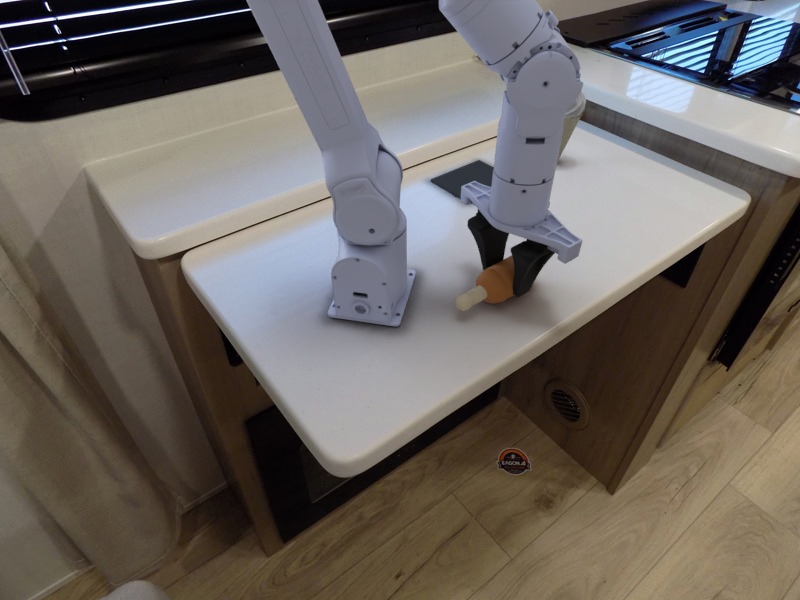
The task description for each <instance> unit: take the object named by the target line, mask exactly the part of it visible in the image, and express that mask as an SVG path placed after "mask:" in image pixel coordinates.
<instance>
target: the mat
mask: <svg viewBox="0 0 800 600" xmlns="http://www.w3.org/2000/svg"><path fill="white" fill-rule="evenodd" d="M493 168H494V166H492V165H491V164H488V163H486V162H484V161H482V160H480V159H478V160H475V161H473V162H470V163H467V164H465V165H463V166H461V167H458V168H455V169H453V170H450V171H448V172H445V173H443V174H441V175H438V176H434V177H433V178H431V179H430V182H431V183H432V184H434V185H436V186H437V187H439V188H440V189H442V190H443V191H444V190H445V191H446V192H447V193H449V194H451V195H453V196H454V197H456V198H458V199H459V200H461V186H463V185H466V184H468V183H470V182H473V181H476V182H478V183H480V184H483V185H486V186H489V187H491V185H492V176H493Z"/></svg>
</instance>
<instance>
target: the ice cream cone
mask: <svg viewBox="0 0 800 600" xmlns="http://www.w3.org/2000/svg"><path fill="white" fill-rule="evenodd" d="M586 104H587V99H586V96H585V94H584V93H583V91H581V92H580V94H579V96H578V98H577V99H576V101H575V102H574V103H573V104H572V106H571V107H570V108H568V109H567V110H566V114H565V119H564V124H563V127H564V129H563V134H562V139H561V144H560V149H559V155H558V160H557V163H558V162H559V160H560V158H561V156H562V155H563V152H564V150H565V149H566V146H567V145H568V143H569V141H570V139H571V136H572V135H573V133H574V131H575V129H576V127H577V125H578V123H579V121H580V119H581V117H583V115H584V112H585V107H586Z"/></svg>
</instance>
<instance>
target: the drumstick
mask: <svg viewBox="0 0 800 600" xmlns="http://www.w3.org/2000/svg"><path fill="white" fill-rule="evenodd" d="M475 280H476V281H475V287H473V288H471V289H470V290H467V291H466V292H464V293H461V294H459V295H457V296H456V298H455V301H454V305H455V307H456V309H457V310H459V311H460V312H461V311H462V312H467V311H469V310H470V309H471V308H472V307H473V306H475V305H478V304H479V303H480V302H483V301H484V302H486V303H488V304H493V305H494V304H496V305H497V304H500V303H503V302H505V301H506V300H508V299H510V298H511V297H513V296H514V295H513V280H514V261H513V257H512V254H510V255H509V256H508V257H506V258H504V259H503V260H502V261H500V262H498V263H496V264H494V265H492V266H491V267H489V268H487V269H485V270H484V271H483V270H482V271H481V272H480V273H479V274H478V276H477V278H476V279H475Z"/></svg>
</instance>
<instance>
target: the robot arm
mask: <svg viewBox="0 0 800 600" xmlns="http://www.w3.org/2000/svg"><path fill="white" fill-rule="evenodd" d="M245 1H246V3H247V5H248V7H249V9H250V11H251V13H252V16H253V17H254V19H255V21H256V24H257V26H258V27H259V29H260V31H261V33H262V35H263V37H264V39H265V42H266V44H267V46H268V47H269V50H270V51H271V54H272V55H273V58H274V60H275V61H276V64H277V67H278V68H279V70H280V72H281V75H282V76H283V78H284V80H285V82H286V84H287V86H288V89H289V90H290V92H291V94H292V96H293V98H294V100H295V102H296V104H297V106H298V109H299V110H300V112H301V115H302V117H303V119H304V120H305V123H306V125H307V127H308V129H309V131H310V133H311V134H312V137H313V139H314V141H315V143H316V145H317V147H318V149H319V151H320V154H321V160H322V165H323V166H322V167H323V174H324V181H325V186H326V190H327V192H328V193H329V195H330V198H331V201H332V219H333V223H334V226H335V228H336V233H337V244H338V249H337V254H336V257H335V260H334V263H333V265H332V267H331V272H330V280H331V286H332V294H333V295H332V296H333V300H332V302H331V304H330V306H329V307H328V310H327V316H328V317H329V318H334V319H341V320H347V321H353V322H354V321H355V322H362V323H367V324H368V323H369V324H375V325H383V326H389V327H399V326H400V325H401V323H402V320H403V316H404V313H405V311H406V307H407V304H408V301H409V298H410V295H411V293H412V292H411V291H412V288H413V286H414V282H415V279H416V276H417V271H416V270H415V269H411V268H408V237H407V236H408V232H407V231H408V229H407V227H408V226H407V224H408V223H407V216H406V214H405V212H404V211H403V210H402V208H401V193H402V191H401V190H402V182H403V179H404V170H403V166H402V163H401V161H400V159H399V158H398V156H397V155H396V154H395V153H394V152H392V150H390V149H389V148H388V147H387V146H386V145H385V143H384V142H383V140H382V138H381V135H380V133H379V131H378V129H376V128H375V126H373V125H372V124H371V122H369V121H368V117H367V116H366V113H365V111H364V109H363V105H362V104H361V101H360V99H359V97H358V94H357V92H356V88H355V87H354V84H353V82H352V80H351V77H350V75H349V73H348V70H347V68H346V65H345V63H344V60H343V58H342V56H341V53H340V51H339V48H338V46H337V43H336V41H335V39H334V36H333V34H332V31H331V29H330V27H329V24H328V22H327V19H326V17H325V15H324V11H323V9H322V6H321V5H320V3H319V0H245ZM438 10H439V12H441V13H442V15H443V16H444V18H446V20H447V21H448V22H449V23H450V25H451V26H452V27H453V28H454V29H455V30H456V31H457V33H458V34H459V35H460V36H461V38H462V39H463V40H464V41H465V42H466V43H467V46H469V47H470V48H471V50H472V51H473V52H474V53H475V54H476V56H477V57H478V58H479V59H480V60H481V61H482V63H483V64H484V65H485V66H486V68H487V69H488V70H490V71H492V72H493V73H497V74H499V76H500V79H501V80H502V81H503V82H504V83H505V87H506V90H504V91H503V97H502V104H501V105H502V106H501V114H500V118H499V120H498V124H497V134H496V141H495V142H496V143H495V151H494V158H493V167H494V168H493V176H492V185H491V187H489V186H486V185H483V184H480V183H478V182H476V181H473V182H470V183H468V184H466V185H463V186H461V199H459V200H460V203H462V204H464V205H465V206H468V205H470V204H472V205H473V206H474V207H476V208H477V212H476V213H475V215H474V216H471V217H470V218H468V220H467V225H466V226H467V228H468V230H469V231H470V234H471V235H472V236H473V240H474V241H475V244H476V246H477V249H478V252H479V257H480V262H481V266H482V271H484V270H485V269H487V268H489V267H491V266H492V265H494V264H496V263H498V262H500V261H502V260H504V259H505V254H506V253H505V252H506V247H507V242H508V239H509V237H510V236H509V235H514V236H516V237H519V238H522V239H525V240H523V241H521V242H519V243H518V244H516V245H515V244H514V246H512V247H510V253H511V254H510V255H512V257H513V261H514V280H513V296H515V297H516V298H520V297H522V296H523V295H525V294H526V293H529V292H531V289H532V287H533V285H534V283H535V281H536V280H537V277H538V276H539V274H540V273H541V271H542V269H543V268H544V267H545V265H546V264H547V263H548V262H549V260H551V258H553V256H554V255H555V254H556V255H557V259H556V260H558V261H559V262H561V263H563V264H564V265H565V264H568V263H570V262H572V261H573V260H575V259H577V258H578V257H579V255H580V252H581V247H582V244H583V239H582V238H580V237H578V236H577V235H575V234H574V233H573V232H571V231H570V230H569V229H568V228H567V227H566V226H565V225H564V223H562V222H561V221H560V220H559V219H558V218H557V216H555V214H553V213H552V212H551V210H549V209H550V205H551V201H550V200H551V195H552V190H553V185H554V179H555V175H556V170H557V164H558V162H557V160H558V155H559V149H560V144H561V139H562V134H563V129H564V127H563V124H564V119H565V114H566V110H567V109H568V108H570V107H571V106H572V104H573V103H574V102H575V101H576V99H577V98H578V96H579V94H580V92H582V89H583V86H584V82H583V81H582V80H581V73H580V70H581V66H580V61H579V59H578V57H577V56H576V54H575V52H574V51H573V50H572V48H571V47H570V46H569V44H568V43H567V42H566V41H567V40H565V38H564V37H563V36H562V35H561V30H560V28H559V27H557V26H558V25H559V22H560V21H559V20H558V18H557V17H556V15H555V14H554V13H553V11H552V10H551V9H548V10H547V11H546V12H545V11H544V10H543V9H542V7H541V6H540V4H539V3H538V1H537V0H438ZM558 161H559V160H558Z"/></svg>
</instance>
